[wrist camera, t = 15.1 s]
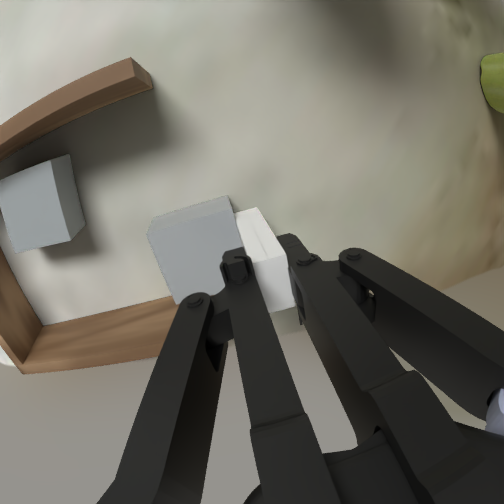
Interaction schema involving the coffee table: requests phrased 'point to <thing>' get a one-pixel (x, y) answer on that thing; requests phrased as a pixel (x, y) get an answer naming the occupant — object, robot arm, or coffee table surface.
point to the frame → (95, 326)
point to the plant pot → (493, 80)
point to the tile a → (41, 205)
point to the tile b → (194, 246)
